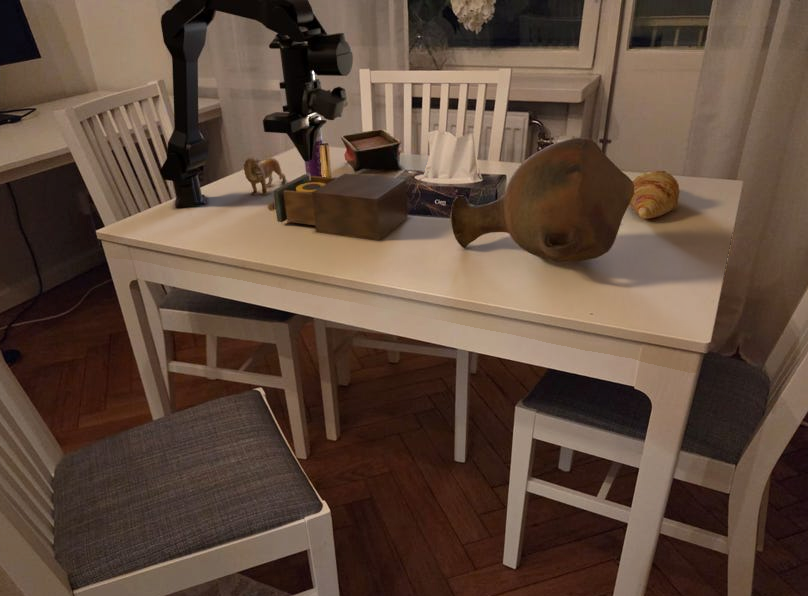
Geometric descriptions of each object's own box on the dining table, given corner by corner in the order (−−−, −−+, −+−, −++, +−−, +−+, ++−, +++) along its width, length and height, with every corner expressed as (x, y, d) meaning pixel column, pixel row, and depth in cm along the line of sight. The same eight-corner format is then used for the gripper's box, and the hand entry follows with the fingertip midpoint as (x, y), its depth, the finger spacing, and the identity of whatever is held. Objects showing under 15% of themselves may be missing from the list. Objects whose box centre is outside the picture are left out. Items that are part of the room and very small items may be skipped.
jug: (644, 251, 108) (483, 252, 124) (648, 131, 103) (479, 148, 119) (614, 273, 92) (435, 270, 108) (617, 132, 86) (427, 151, 103)
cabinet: (316, 231, 124) (311, 192, 120) (347, 210, 134) (344, 173, 130) (378, 240, 119) (376, 199, 115) (407, 218, 129) (406, 179, 124)
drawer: (260, 219, 130) (255, 188, 127) (292, 202, 139) (288, 172, 135) (332, 229, 123) (329, 196, 120) (361, 210, 132) (359, 179, 128)
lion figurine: (263, 200, 143) (257, 160, 138) (243, 199, 145) (236, 159, 140) (290, 181, 155) (285, 143, 150) (271, 180, 156) (265, 143, 152)
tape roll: (297, 207, 132) (294, 184, 129) (327, 204, 133) (324, 180, 131) (300, 217, 127) (297, 193, 124) (332, 213, 128) (329, 189, 125)
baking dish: (350, 185, 156) (351, 146, 149) (338, 157, 169) (339, 119, 163) (406, 183, 159) (409, 144, 152) (390, 155, 172) (393, 118, 165)
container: (323, 185, 151) (316, 120, 143) (304, 185, 152) (297, 120, 143) (328, 179, 154) (322, 115, 146) (310, 179, 155) (303, 115, 147)
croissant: (657, 242, 120) (686, 208, 115) (612, 213, 121) (639, 179, 115) (665, 204, 136) (691, 173, 131) (625, 179, 137) (649, 147, 131)
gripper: (308, 84, 106) (318, 177, 114) (360, 68, 120) (366, 151, 128) (255, 83, 111) (268, 172, 119) (311, 67, 124) (319, 148, 133)
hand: (308, 160), depth 125 cm, fingers closed
